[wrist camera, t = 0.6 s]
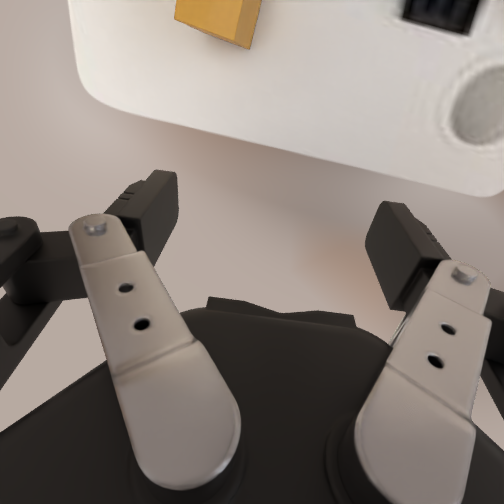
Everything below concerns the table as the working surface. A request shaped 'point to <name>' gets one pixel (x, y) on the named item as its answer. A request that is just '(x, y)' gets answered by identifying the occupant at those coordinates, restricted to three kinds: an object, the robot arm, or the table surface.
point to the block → (221, 18)
